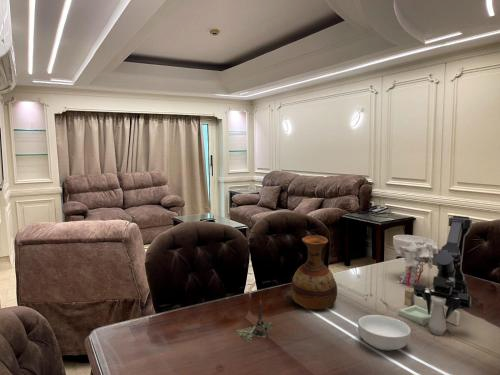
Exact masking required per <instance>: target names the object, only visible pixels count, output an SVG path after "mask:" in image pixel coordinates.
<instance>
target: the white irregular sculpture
mask: <svg viewBox="0 0 500 375" xmlns="http://www.w3.org/2000/svg"><path fill="white" fill-rule="evenodd" d="M392 243H393V248H394V250H395V252H396V253H397V255H398V257H399V258H402V259H403V261H404V262H405V267H404V268H405V269H404V271H402V274H401V275H400V280H397V282H396V283H397V284H405V286H408V287H410V285H415V283H416V284H420V279H421V276H422V273H423V271H424V265H426V264H427V266H428V268H429V269H433V266H434V265H433V259H434V254H435V255H437V254H438V253H439V248H438V245H439V244H438V242H435V241H434V240H433V239H432V238H428V237H424V236H421V235H420V236H419V235H411V234H396V235H394V236H393V238H392ZM424 258H425V259H424ZM425 260H426V261H425ZM423 263H424V264H423Z"/></svg>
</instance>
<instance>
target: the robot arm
mask: <svg viewBox="0 0 500 375" xmlns="http://www.w3.org/2000/svg"><path fill="white" fill-rule="evenodd" d="M472 226H473V219H470V216H462V215H461V216H460V215H453V216H452V217H449V218H448V227H450V228H449V230H448V231H449V232H448V236H447V240H446V244H444V245H442V246H441V250H440V251H438V254H435V257H434V259H435V264H436V268H437V274H436V276H435V275H434V276H433V278H432V289H430V288H428V287H427V285H425V284H420V283H419V284H417V283H416V284H415V283H414V284H413V290H414V293H415V296H417V297H421V298H423V300H426V302H427V309H428V315H430V312H431V304H432V299H433V298H432V297H441V298H444V299H445V301H446V303H445V306H446V307H448V309H447V312H446V317H445V319H447V318H448V317H449V316H450V315H451V313H452V312H453V311H454V310H456V311H457V309H461V308H466V309H471V308H472V296H471V294H468V284H467V281H466V280H465V279H466V278H465V275H464V273H463V270H462V268H463V267H462V265H463V264H462V263H463V257H464V249H465V237H466V236H467V235H469V233H470V231H471V229H472Z"/></svg>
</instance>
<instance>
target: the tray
mask: <svg viewBox="0 0 500 375" xmlns="http://www.w3.org/2000/svg"><path fill="white" fill-rule="evenodd" d="M431 314H432V312H430V315H428V310H426V309H424V308H421V307H418V306H416V305H414V306H410V307H409V306H407V307H405V308H402V309H399V310H398V317H402V318H404V319H406V320H409V321H412V322H413V323H416V324H418V325H421V326H424V325H429V321H430V318H431Z"/></svg>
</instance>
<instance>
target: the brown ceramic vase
mask: <svg viewBox="0 0 500 375" xmlns="http://www.w3.org/2000/svg"><path fill="white" fill-rule="evenodd" d="M301 241H302V242H303V243H304V245H305V246H306V247H307V260H306V261H305V263H302V265H300V266H299V267H298V268H297V270H296V271H295V273H294V275H293V277H292V279H291V283H290V284H291V285H290V295H291V298H292V300H293V301H294V302H295V303H296V304H297V305H300V306H301V307H303V308H306V309H311V310H321V309H327V308H330V307H331V306H333V305H334V303H336V301H337V297H338V286H337V282H336V280H335V278H334V274H333V273H332V272H331V270H330V268H329V267H328V266H327V265H325V258H326V257H325V256H326V253H327V252H326V250H327V243H328V242H329V239H328V238H327V237H326V236H322V235H316V234H315V235H307V236H305V237H302V238H301Z"/></svg>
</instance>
